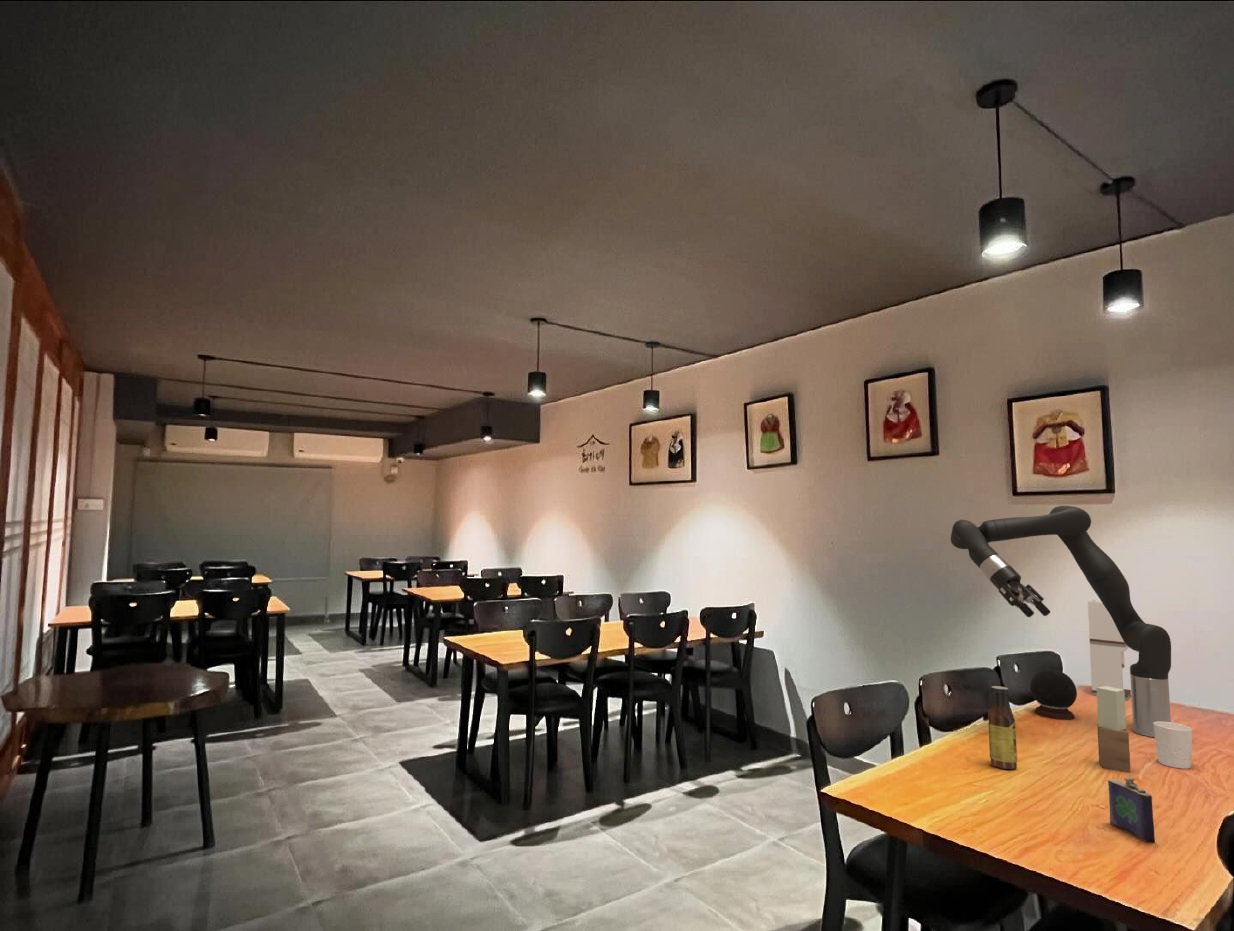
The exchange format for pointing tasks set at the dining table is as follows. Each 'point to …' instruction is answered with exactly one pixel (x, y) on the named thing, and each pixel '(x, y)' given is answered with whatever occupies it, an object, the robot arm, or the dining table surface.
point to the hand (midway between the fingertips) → (1039, 614)
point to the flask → (1131, 809)
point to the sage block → (1111, 708)
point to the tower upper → (1113, 739)
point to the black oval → (1053, 694)
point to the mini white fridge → (1105, 649)
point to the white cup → (1173, 744)
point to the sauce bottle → (1002, 730)
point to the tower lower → (1114, 760)
